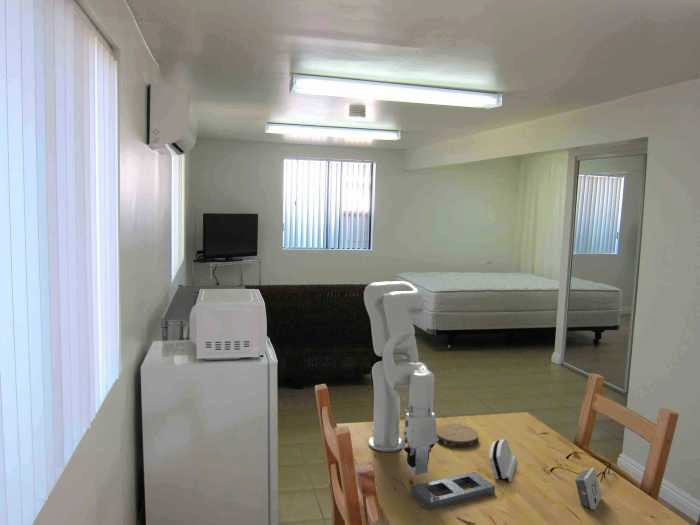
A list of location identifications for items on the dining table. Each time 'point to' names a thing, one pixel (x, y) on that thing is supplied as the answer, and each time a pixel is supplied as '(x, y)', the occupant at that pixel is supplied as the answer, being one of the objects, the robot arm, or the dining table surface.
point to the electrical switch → (588, 488)
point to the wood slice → (457, 436)
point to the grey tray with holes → (452, 490)
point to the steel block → (420, 460)
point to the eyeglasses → (591, 456)
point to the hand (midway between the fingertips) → (417, 463)
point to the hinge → (502, 460)
